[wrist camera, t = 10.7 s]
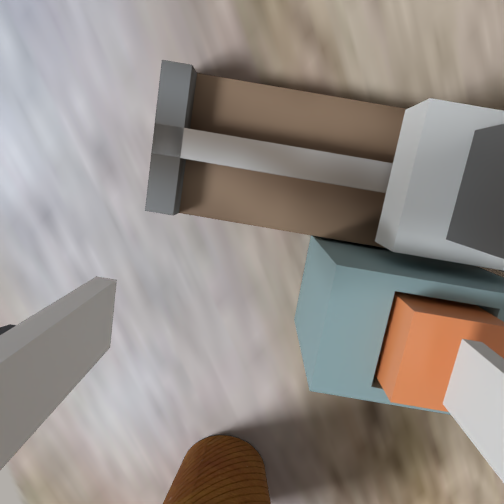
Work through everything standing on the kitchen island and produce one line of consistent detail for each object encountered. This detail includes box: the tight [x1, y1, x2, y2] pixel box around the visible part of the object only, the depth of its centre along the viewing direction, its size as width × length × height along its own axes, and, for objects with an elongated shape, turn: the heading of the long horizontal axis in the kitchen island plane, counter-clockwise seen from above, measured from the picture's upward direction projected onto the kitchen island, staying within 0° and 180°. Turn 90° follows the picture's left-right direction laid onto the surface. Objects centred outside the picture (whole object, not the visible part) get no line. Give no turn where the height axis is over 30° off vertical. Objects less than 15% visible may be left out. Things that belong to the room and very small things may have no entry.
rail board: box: [145, 60, 503, 271], centre depth 23 cm, size 8×22×4 cm, turn 81°
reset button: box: [375, 291, 504, 412], centre depth 19 cm, size 4×4×7 cm
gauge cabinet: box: [294, 235, 504, 415], centre depth 21 cm, size 6×11×9 cm, turn 80°
